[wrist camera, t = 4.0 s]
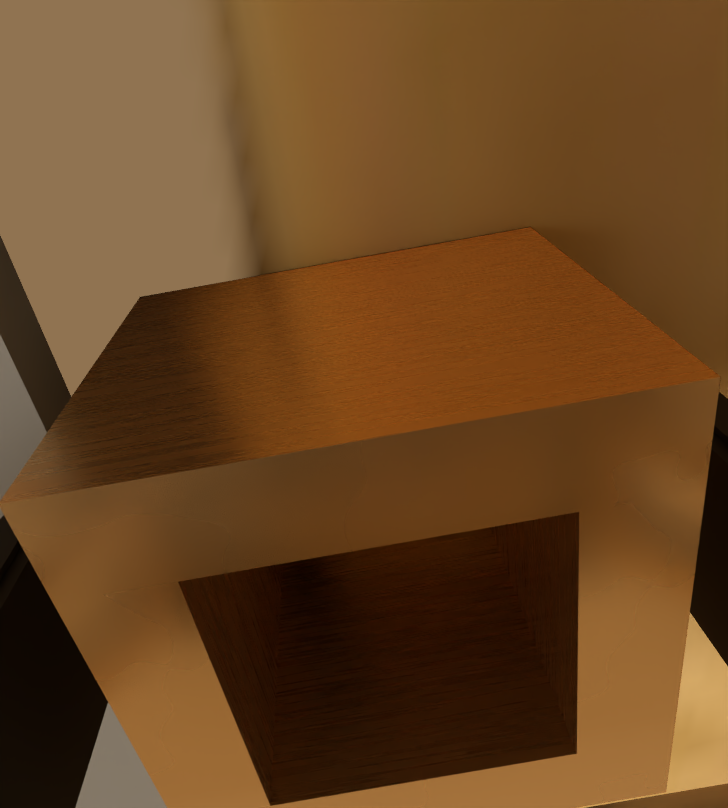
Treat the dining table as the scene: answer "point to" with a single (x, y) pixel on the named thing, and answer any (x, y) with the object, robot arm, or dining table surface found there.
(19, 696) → the robot arm
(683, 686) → the dining table surface
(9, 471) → the shaft block
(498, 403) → the collar
